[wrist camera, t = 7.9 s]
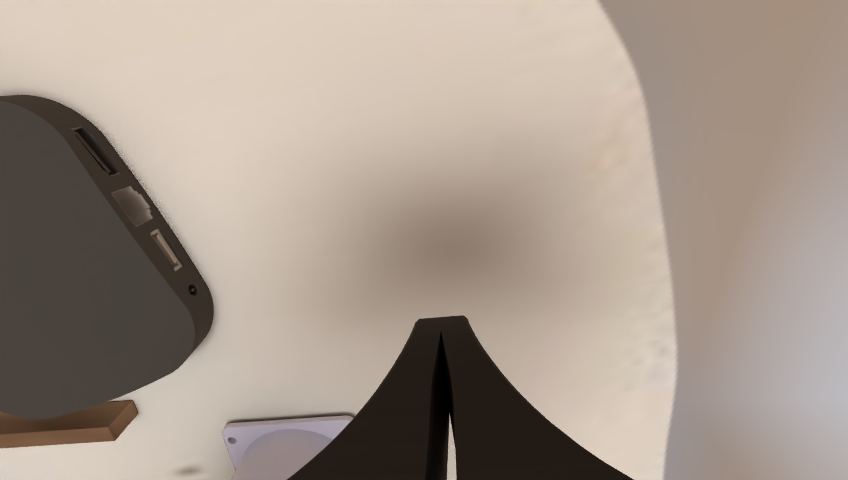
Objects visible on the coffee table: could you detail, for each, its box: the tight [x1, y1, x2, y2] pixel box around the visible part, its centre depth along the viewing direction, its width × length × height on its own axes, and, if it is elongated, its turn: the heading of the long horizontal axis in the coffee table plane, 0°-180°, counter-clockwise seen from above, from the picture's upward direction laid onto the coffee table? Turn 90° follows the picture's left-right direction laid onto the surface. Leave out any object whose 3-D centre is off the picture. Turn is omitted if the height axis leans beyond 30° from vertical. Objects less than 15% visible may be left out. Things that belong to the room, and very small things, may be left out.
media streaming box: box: [0, 95, 213, 419], centre depth 20 cm, size 15×15×3 cm
